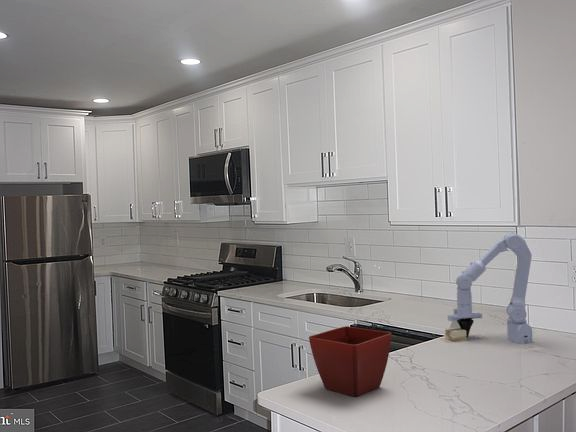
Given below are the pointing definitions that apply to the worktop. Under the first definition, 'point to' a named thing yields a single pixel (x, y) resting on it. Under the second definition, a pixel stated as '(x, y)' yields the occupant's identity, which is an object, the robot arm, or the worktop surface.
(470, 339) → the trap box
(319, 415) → the worktop surface
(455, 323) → the flask
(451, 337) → the birch block
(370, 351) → the plant pot
